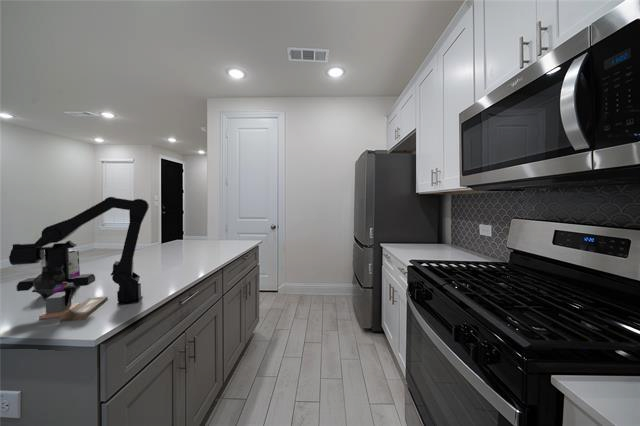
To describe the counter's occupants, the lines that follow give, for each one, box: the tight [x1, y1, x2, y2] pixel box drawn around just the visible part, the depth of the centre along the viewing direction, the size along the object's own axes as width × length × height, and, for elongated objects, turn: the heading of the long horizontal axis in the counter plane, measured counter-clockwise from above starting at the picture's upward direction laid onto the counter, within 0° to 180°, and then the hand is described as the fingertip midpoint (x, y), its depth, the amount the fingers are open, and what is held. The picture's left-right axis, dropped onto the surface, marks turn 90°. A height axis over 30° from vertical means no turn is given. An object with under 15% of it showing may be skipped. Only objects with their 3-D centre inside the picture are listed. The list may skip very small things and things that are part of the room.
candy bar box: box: [40, 249, 81, 294], centre depth 112 cm, size 11×5×16 cm, turn 168°
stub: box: [38, 291, 82, 320], centre depth 90 cm, size 7×9×6 cm
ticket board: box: [59, 296, 108, 323], centre depth 93 cm, size 6×18×1 cm, turn 19°
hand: (59, 306), depth 90 cm, fingers closed on stub, 4 cm apart
